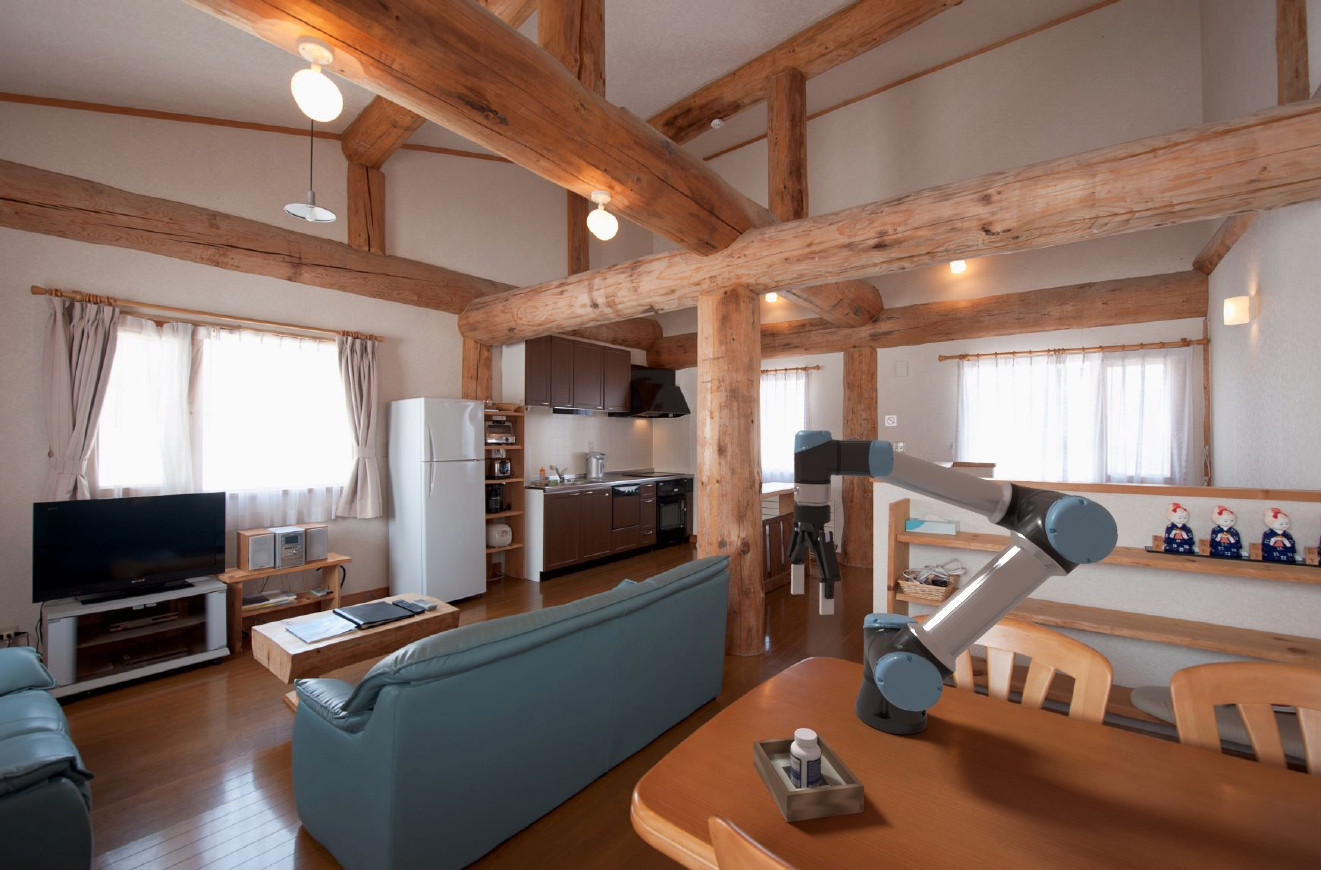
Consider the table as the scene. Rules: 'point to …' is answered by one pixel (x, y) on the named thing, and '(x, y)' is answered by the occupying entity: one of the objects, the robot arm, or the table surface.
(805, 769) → the pill bottle
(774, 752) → the box
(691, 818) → the table surface
